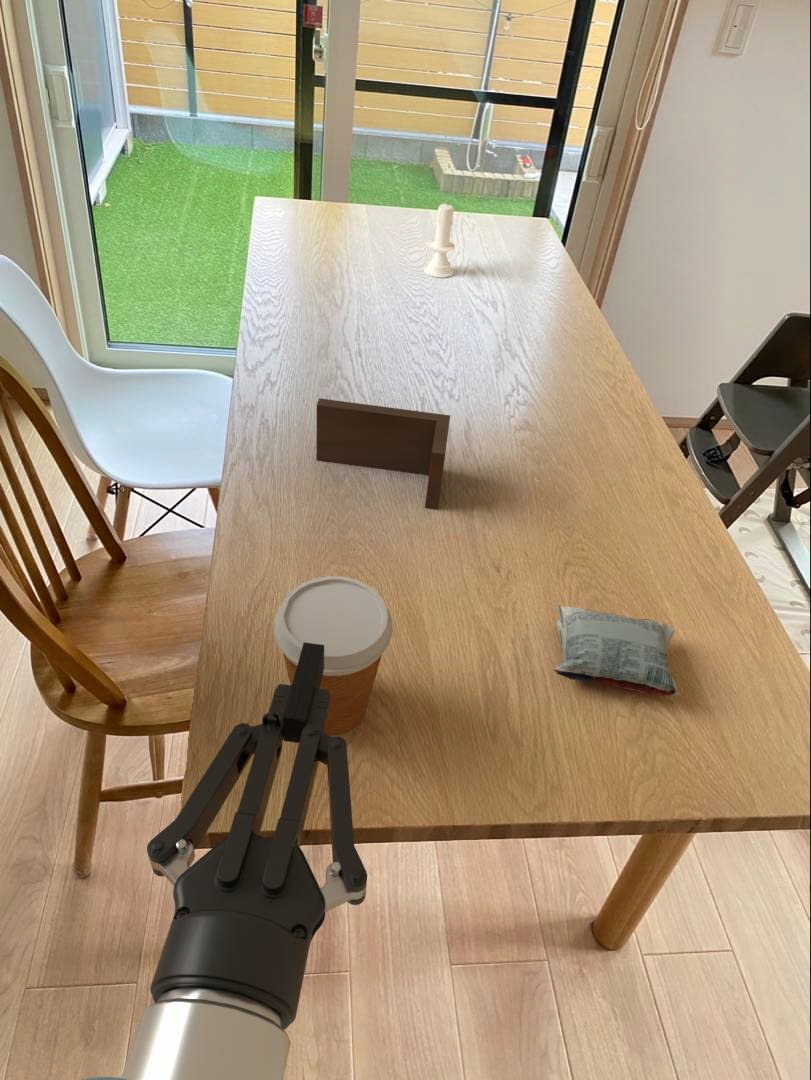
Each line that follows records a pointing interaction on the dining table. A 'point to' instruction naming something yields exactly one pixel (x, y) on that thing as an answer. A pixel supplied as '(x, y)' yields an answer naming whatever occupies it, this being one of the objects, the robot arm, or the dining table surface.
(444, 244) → the candle
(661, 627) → the packaged food
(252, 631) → the dining table surface
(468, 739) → the dining table surface
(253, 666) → the dining table surface
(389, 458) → the corner
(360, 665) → the disposable coffee cup
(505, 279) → the dining table surface
